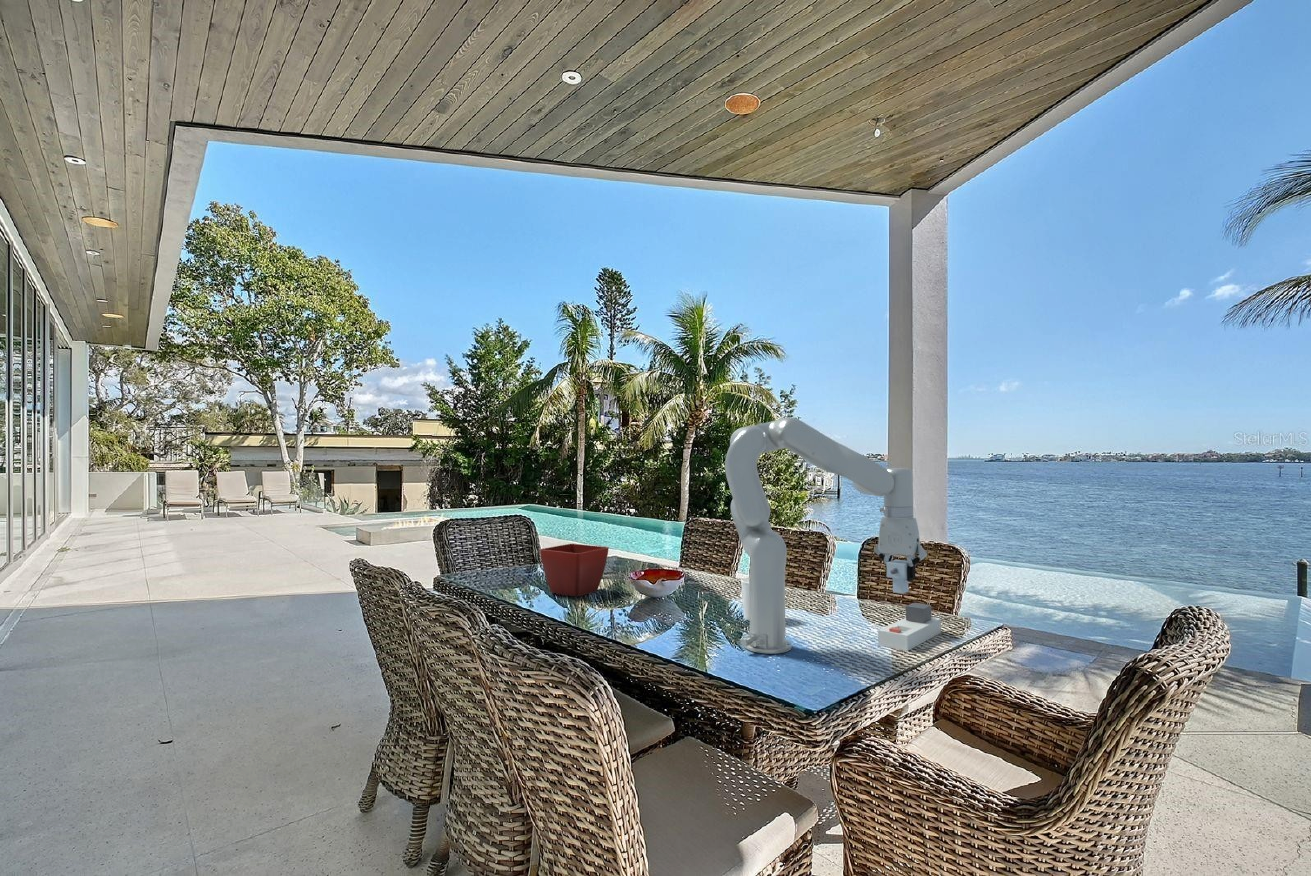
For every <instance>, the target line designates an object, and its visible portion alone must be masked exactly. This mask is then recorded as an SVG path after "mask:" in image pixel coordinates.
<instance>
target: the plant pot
mask: <svg viewBox="0 0 1311 876" xmlns="http://www.w3.org/2000/svg"><path fill="white" fill-rule="evenodd" d="M539 553H540V558H541V563H542V567H543V568H542V569H543V573H544V575H545V580H546V582H547V584H548V587H549V590H550V593H551V592H552V593H551V594H554V593H556V595H560V594H561V596H566V595H569V596H568V597H573V596H574V598H576V597H577V598H579V597H582V596H585V595H588V594H589V595H590V594H592V593H596V592H597V591H598V589H599V586H600V584H601V581H602V578H603V575H604V571H605V570H606V569H605V568H606V566H607V565H606V564H607V561H608V560H607V559H608V554H609V547H607V546H600V545H599V546H598V545H590V544H579V543H568V544H567V543H565V544H562V545H556V546H551V547H545V548H540V549H539ZM578 596H579V597H578Z"/></svg>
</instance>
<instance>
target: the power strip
mask: <svg viewBox="0 0 1311 876" xmlns="http://www.w3.org/2000/svg"><path fill="white" fill-rule="evenodd" d="M941 619H942V618H940V617H934V616H933V617H932V619H931V620H929V621H927V622H925V623H919V622H914V621H908V620H906V617H904V618H902V619H900V620H897V621H895V622H893V623H891V624H888V625H887V626H884V627H883V628H880V629H878V630H877V639H878V640H877V645H878V646H880V645H881V646H882V647H886V648H891V649H897V650H901V651H905V652H908V651H910V650H912V649H913V648H915V647H917V646H919V645H921V644H923V643H924V642H927V641H929V640H930V639H932V638H933V637H936V636H938V635H939V634H941V633H942V622H941ZM926 640H927V641H926Z"/></svg>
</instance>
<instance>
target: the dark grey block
mask: <svg viewBox="0 0 1311 876" xmlns="http://www.w3.org/2000/svg"><path fill="white" fill-rule="evenodd" d="M932 616H933V615H932V604H926V603H919V602H912V603H909V604H908V605H905V618H906V620H908V621H914V622H919V623H925V622H927V621H929V620H931V619H932Z"/></svg>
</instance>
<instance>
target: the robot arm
mask: <svg viewBox="0 0 1311 876" xmlns="http://www.w3.org/2000/svg"><path fill="white" fill-rule="evenodd" d="M782 449H786V450H788V451H790V452H791V453H793V454H795V455H797V456H799V458H802V459H804V460H805V461H807V462H809V463H810V464H811V465H813V466H815V467H816V468H818V469H821V470H823V471H825V472H828V473H831V474H834V475H838V476H841V477H842V478H845V479H847V480H849V481H851V482H852V486H853V488H854V489H855V490H856V491H857V492H858V493H861V494H862V495H867V496H875V497H883V507H879V512H880V513H881V514H883V516H882V517H881V518H880V523H879V530H878V543H877V544H876V546H875V547H873V548H874V549H873V552H874V553H875V554H876V555H877V556H879V558H880V559H881V560H882V561H883V563H884V565H885V575H886V579H888V580H891V578H890V577H887V567H886V562H890V561H893V559H894V556H903V557H904V556H905V557H906V561H908V566H907V581H908V582H912V581H914V580H915V578H916V566H917V565H918V564H919V562H920V561H922V560H924V559H925V558H926V557H927V556H928V553H927V551H926V550H925V549H924V548H923V546H922V545H921V542H920V540H921V539H920V531H919V526H918V522H917V518H916V517H914V492H913V491H914V488H913V487H914V483H913V482H914V481H913V471H912V470H911V469H910V468H908V467H888V468H885V467H883V466H882V465H880V464H879V463H877V462H876V461H874V460H872V459H870V458H868V457H867V456H865V455H863V454H862V453H859V452H858V451H855V450H853V449H851V448H849V447H848V446H845V445H843V444H841V443H839V442H838V441H836V440H833V439H832V438H831V437H829V436H827V435H825V434H823V433H822V432H820V431H819V430H817V429H815V428H814V427H812V426H811V425H809V424H807V423H806V422H804V421H802V420H800V419H799V418H796V417H792V416H790V417H789V416H788V417H784V418H779V419H776V420H772V421H767V422H764V423H757V424H752V425H747V426H742V427H740V428H737V429H736V430H735V431H733V433H732V434H731V437H730V440H729V447H728V449H727V453H726V455H725V461H724V470H725V476H726V481H727V483H728V486H729V490H730V494H731V497H732V500H731V502H730V514H731V518H732V519H733V520H732V521H733V523H734V527H735V529H736V532H737V534H738V537H739V540H740V542H741V545H742V548H743V550H744V552H745V553H746V555H747V556H749V558H750V559H749V560H750V564H749V575H748V578H749V596H750V621H749V631H748V633H747V634H748V636H747V637H745V638H742V639H741V640H740V645H741V646H742V647H744V648H745V649H746V650H748V651H750V652H754V653H758V654H764V655H765V654H766V655H768V654H771V655H772V654H775V655H776V654H777V655H778V654H783V653H787V652H789V651H791V650H792V646H793V645H792V642H791V641H789V640H787V639H786V565H787V559H788V558H787V557H788V555H787V554H788V551H787V545H786V542H785V540H784V539H783V537H782V536H781V534H779V533H778V532H776V531H774V529H773V530H772V527H771V525H770V522H769V519H770V515H771V507H770V503H769V501H768V499H767V496H766V493H765V490H764V488H763V485H762V482H761V480H760V475H759V471H758V460H759V457H760V456H761V454H765V453H770V452H775V451H779V450H782ZM916 555H917V556H916Z"/></svg>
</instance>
